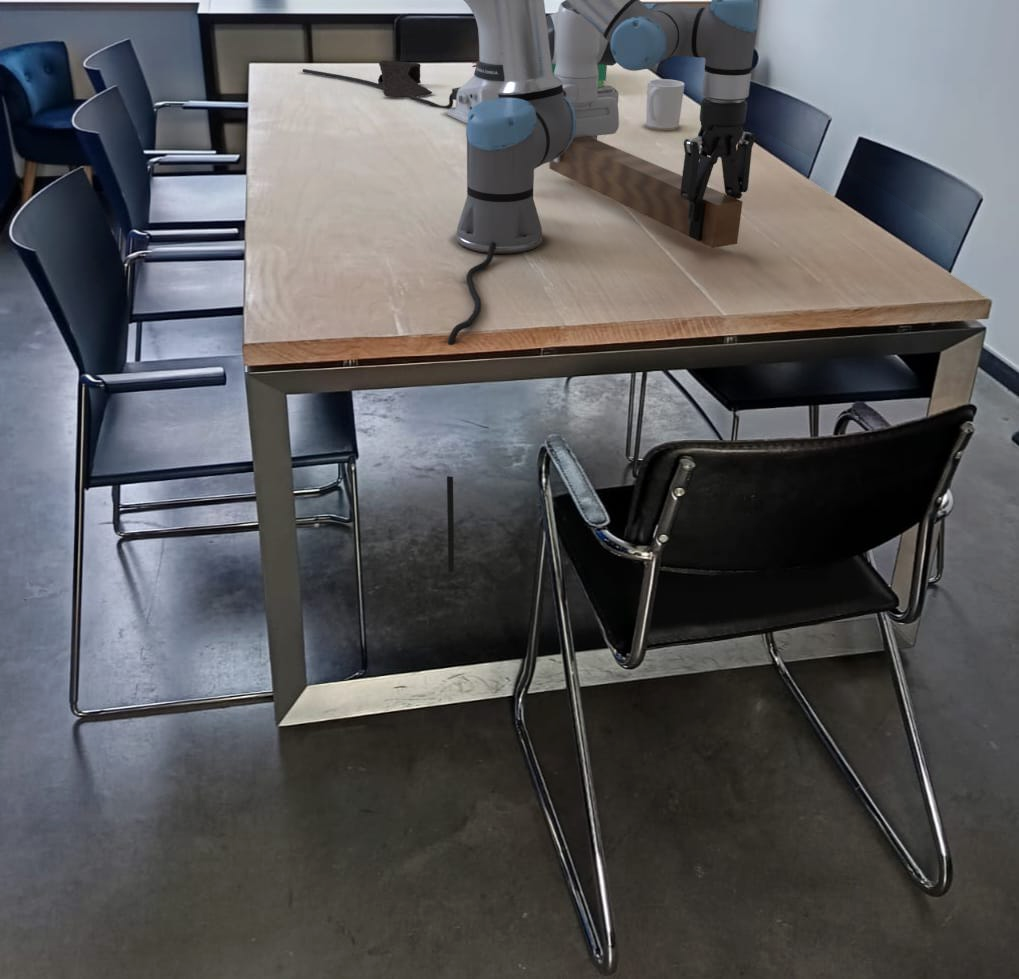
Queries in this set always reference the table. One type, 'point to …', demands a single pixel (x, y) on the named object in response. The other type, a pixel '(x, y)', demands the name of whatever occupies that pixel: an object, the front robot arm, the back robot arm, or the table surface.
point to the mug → (664, 104)
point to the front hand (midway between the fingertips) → (709, 235)
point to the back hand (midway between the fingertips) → (571, 159)
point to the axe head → (401, 79)
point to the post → (648, 189)
